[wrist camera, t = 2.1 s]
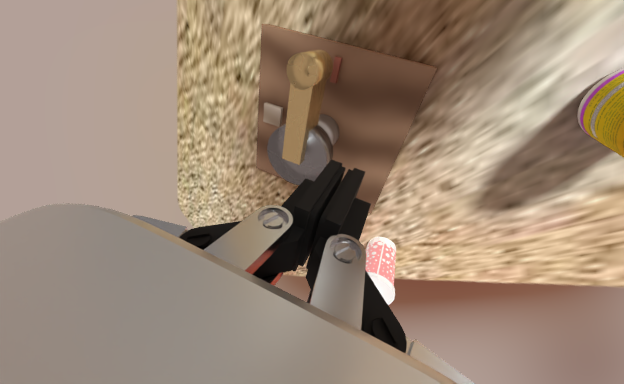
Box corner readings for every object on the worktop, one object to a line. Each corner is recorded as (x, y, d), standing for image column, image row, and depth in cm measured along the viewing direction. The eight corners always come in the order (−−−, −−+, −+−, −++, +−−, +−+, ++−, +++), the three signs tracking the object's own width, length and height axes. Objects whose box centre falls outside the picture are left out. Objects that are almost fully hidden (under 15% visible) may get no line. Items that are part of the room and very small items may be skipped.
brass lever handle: (288, 40, 22) (264, 42, 19) (358, 59, 20) (346, 64, 17) (276, 163, 30) (258, 178, 27) (326, 182, 28) (313, 201, 25)
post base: (268, 24, 29) (231, 22, 23) (436, 66, 25) (438, 76, 19) (261, 163, 41) (235, 183, 36) (372, 208, 37) (363, 238, 31)
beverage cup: (360, 252, 43) (337, 325, 32) (368, 228, 39) (345, 302, 29) (394, 265, 41) (382, 347, 31) (406, 241, 38) (396, 324, 27)
